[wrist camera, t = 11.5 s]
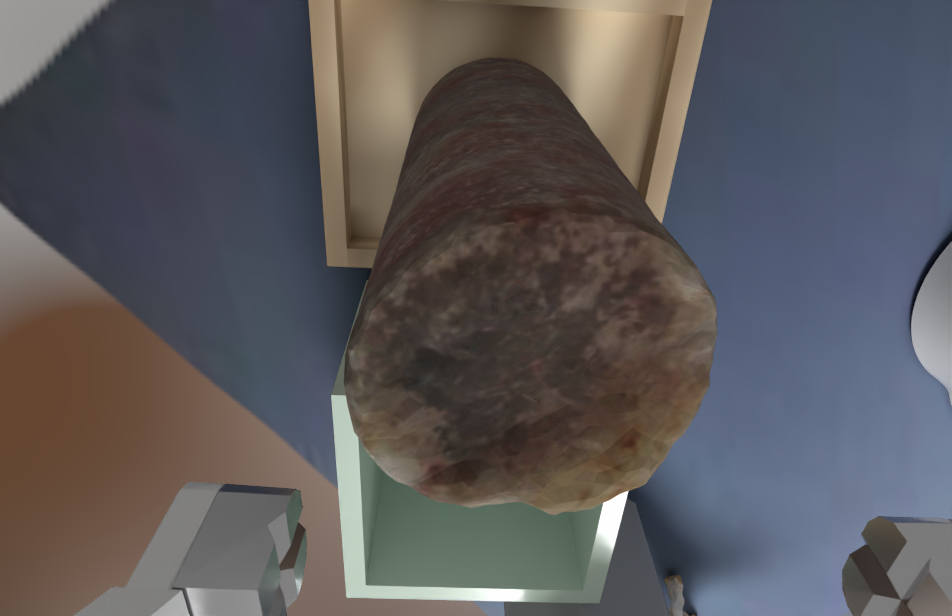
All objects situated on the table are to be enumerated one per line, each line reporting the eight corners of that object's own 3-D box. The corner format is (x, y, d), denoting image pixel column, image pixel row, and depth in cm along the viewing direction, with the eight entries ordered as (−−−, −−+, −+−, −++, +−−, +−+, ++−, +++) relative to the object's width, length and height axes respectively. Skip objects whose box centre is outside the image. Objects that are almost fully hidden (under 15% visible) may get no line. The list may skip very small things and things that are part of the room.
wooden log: (457, 14, 26) (440, 140, 9) (605, 93, 28) (840, 330, 10) (390, 173, 29) (279, 492, 12) (525, 234, 31) (599, 592, 14)
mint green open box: (603, 290, 34) (649, 407, 25) (571, 463, 40) (599, 603, 32) (366, 280, 33) (331, 395, 25) (372, 457, 40) (346, 597, 31)
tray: (694, -14, 26) (714, -11, 24) (636, 259, 33) (648, 281, 31) (319, -39, 26) (305, -38, 24) (336, 244, 32) (327, 266, 30)
